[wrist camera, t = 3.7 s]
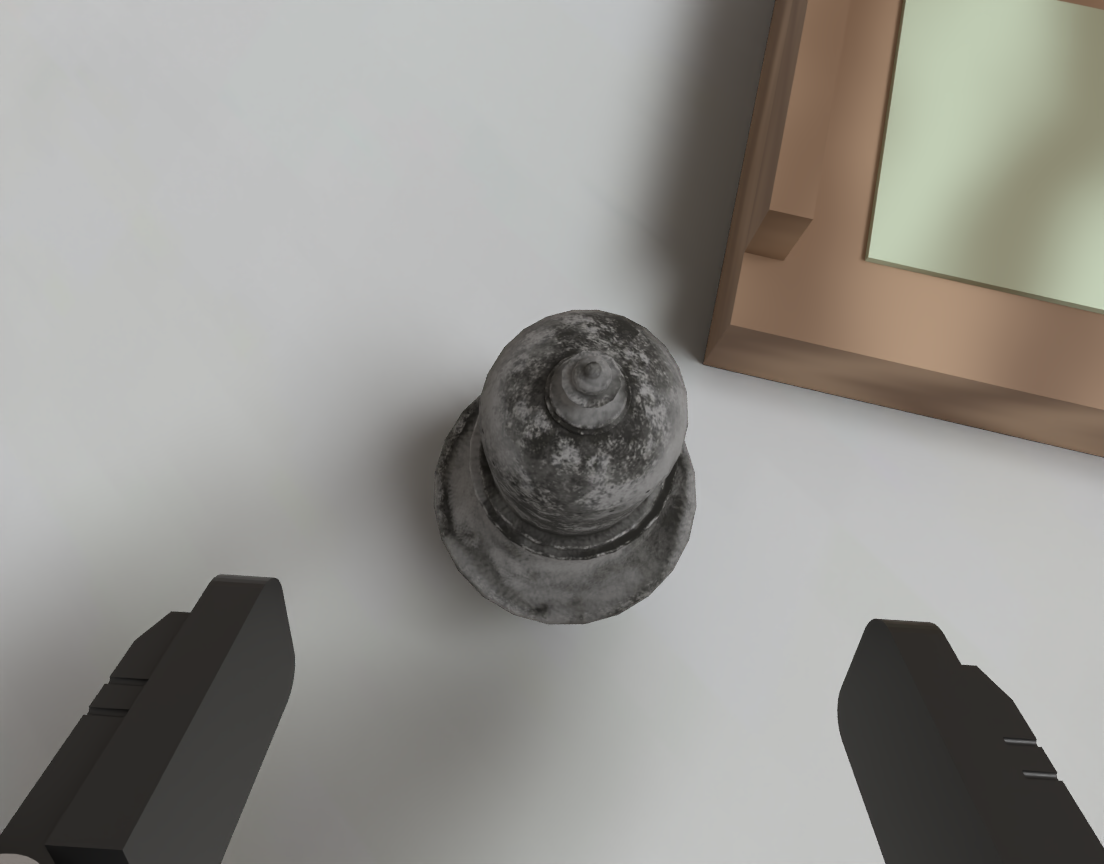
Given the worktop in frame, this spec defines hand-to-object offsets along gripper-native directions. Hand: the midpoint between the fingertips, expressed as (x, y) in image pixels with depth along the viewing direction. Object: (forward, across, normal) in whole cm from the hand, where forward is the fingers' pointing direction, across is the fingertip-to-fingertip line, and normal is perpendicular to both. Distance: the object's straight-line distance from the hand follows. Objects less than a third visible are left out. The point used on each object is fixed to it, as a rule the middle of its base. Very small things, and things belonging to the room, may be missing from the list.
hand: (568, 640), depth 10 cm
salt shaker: (+9, 0, +4) cm, 10 cm away
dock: (+16, -12, -3) cm, 20 cm away
